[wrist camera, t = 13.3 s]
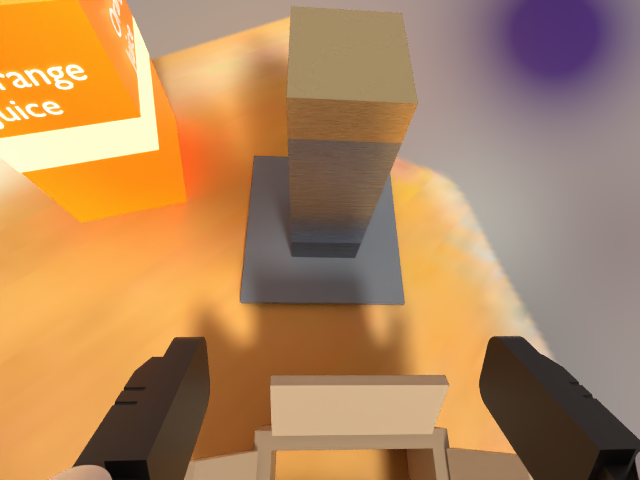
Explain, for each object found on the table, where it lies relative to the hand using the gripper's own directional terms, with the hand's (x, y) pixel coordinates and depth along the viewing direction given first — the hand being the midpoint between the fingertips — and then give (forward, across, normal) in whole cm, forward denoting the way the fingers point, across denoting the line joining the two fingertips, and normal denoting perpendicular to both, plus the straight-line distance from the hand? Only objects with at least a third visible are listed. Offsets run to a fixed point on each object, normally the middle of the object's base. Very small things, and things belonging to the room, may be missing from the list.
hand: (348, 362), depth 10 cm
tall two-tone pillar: (+16, 0, +1) cm, 16 cm away
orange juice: (+20, +15, -2) cm, 25 cm away
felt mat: (+17, 0, +1) cm, 17 cm away
